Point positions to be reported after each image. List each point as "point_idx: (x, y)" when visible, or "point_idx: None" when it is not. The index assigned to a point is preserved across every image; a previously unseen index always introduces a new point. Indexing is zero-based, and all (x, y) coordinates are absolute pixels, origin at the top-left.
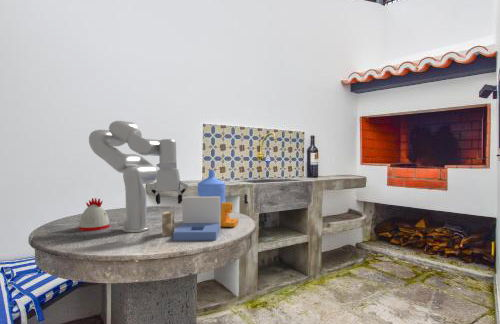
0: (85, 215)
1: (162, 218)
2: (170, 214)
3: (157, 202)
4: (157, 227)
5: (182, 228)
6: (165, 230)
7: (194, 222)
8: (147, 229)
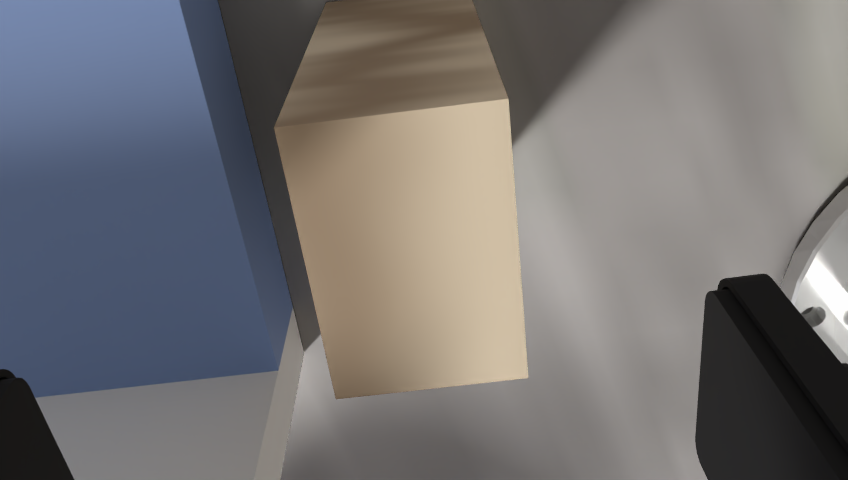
0: None
1: (486, 62)
2: (289, 118)
3: (763, 303)
4: (692, 408)
5: (82, 14)
6: (415, 9)
7: (91, 396)
8: (794, 259)
